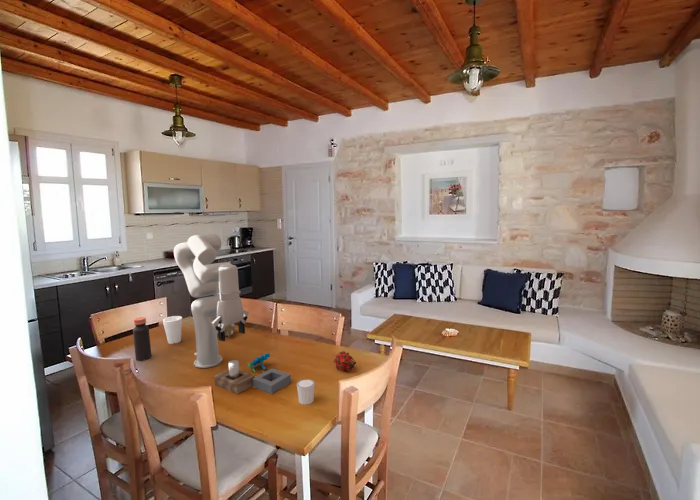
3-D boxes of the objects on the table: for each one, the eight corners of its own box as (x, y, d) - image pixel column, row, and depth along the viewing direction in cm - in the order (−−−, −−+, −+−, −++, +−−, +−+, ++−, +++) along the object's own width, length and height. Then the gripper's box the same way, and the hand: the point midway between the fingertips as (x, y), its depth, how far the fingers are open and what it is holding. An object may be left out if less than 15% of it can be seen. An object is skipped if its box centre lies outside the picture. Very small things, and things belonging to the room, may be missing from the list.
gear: (266, 358, 173) (271, 349, 166) (272, 368, 170) (277, 360, 164) (244, 368, 166) (248, 359, 159) (250, 379, 164) (254, 371, 157)
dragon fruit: (337, 366, 170) (353, 380, 160) (325, 361, 164) (341, 374, 155) (347, 350, 171) (363, 363, 162) (336, 344, 165) (351, 357, 156)
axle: (227, 385, 151) (226, 362, 149) (235, 381, 154) (234, 359, 153) (234, 388, 148) (232, 365, 147) (241, 384, 152) (240, 361, 150)
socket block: (252, 386, 149) (252, 378, 149) (272, 375, 158) (271, 368, 158) (271, 394, 143) (271, 385, 143) (290, 382, 152) (290, 374, 152)
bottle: (132, 359, 177) (128, 319, 174) (146, 354, 183) (142, 315, 180) (141, 361, 174) (137, 321, 171) (154, 356, 180) (150, 317, 177)
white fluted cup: (315, 395, 142) (315, 378, 141) (314, 405, 135) (314, 387, 134) (298, 395, 142) (297, 379, 141) (296, 405, 135) (295, 388, 134)
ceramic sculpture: (238, 315, 214) (229, 326, 199) (240, 329, 215) (231, 340, 201) (221, 316, 214) (210, 326, 199) (222, 329, 216) (212, 341, 201)
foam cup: (171, 346, 193) (169, 322, 191) (161, 343, 197) (159, 320, 195) (187, 340, 201) (185, 317, 199) (177, 337, 205) (175, 315, 204)
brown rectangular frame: (215, 384, 151) (214, 375, 151) (232, 376, 159) (232, 367, 158) (237, 394, 144) (236, 385, 143) (254, 384, 151) (254, 375, 150)
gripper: (240, 290, 155) (243, 328, 157) (204, 299, 141) (208, 341, 143) (252, 292, 151) (254, 331, 153) (216, 302, 137) (220, 345, 139)
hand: (232, 336), depth 148 cm, fingers open, 9 cm apart
